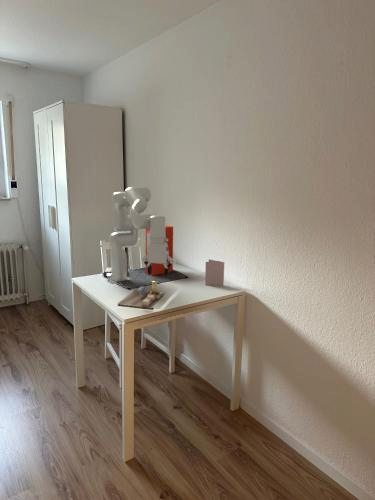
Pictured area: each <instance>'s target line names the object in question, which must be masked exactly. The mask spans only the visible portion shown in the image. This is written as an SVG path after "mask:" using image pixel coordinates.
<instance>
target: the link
mask: <svg viewBox="0 0 375 500" xmlns="http://www.w3.org/2000/svg"><path fill="white" fill-rule="evenodd" d="M149 292H150V293H149V294H148V295H147V297H146V298H145V299H144V300H143V301H142V306H141V307H145V306H148V305H149V304H150V303H151V302H152V301H153V300H154V299H155V298H156V299H159V298H160V297H161V296H162V293H163V292H161V291H157V295H155V294H152V290H151V291H149Z"/></svg>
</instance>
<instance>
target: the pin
mask: <svg viewBox="0 0 375 500" xmlns="http://www.w3.org/2000/svg"><path fill="white" fill-rule="evenodd" d="M151 289H152V290H151V291H152V294H155V295H157V292H158V280H157V279H156V280H155V279H154V280H152V281H151Z"/></svg>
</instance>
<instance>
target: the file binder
mask: <svg viewBox="0 0 375 500" xmlns="http://www.w3.org/2000/svg"><path fill="white" fill-rule="evenodd" d="M165 237H166V238H167V239H168V242H165V243H167V245H168V252H169V256H170V257H171V258H172V259H173V260H174V226H171V225H167V224H165ZM149 243H150V228H147V229H145V256H146V255H147V253H148V246H149ZM146 261H147V258H146ZM147 262H148V261H147ZM148 263H149V262H148ZM167 263H168V264H169V263H170V261H168V262H167ZM151 266H152V274H150V275H149V276H156V275H163V274H164V269H165V266H164V265H163V264H157V263H152V264H151ZM173 266H174V262H173V263H172V265H171V266H170V267H169V268H168V273H172V272H171V271H174V269H173V268H174V267H173ZM145 273H146V274H148V267H147V266H146V265H145Z"/></svg>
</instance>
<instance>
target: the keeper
mask: <svg viewBox="0 0 375 500" xmlns="http://www.w3.org/2000/svg"><path fill="white" fill-rule="evenodd" d="M146 290H147V289H146V285H141V286H140V287H139V288H137V292H141V294H145V293H146Z"/></svg>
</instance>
